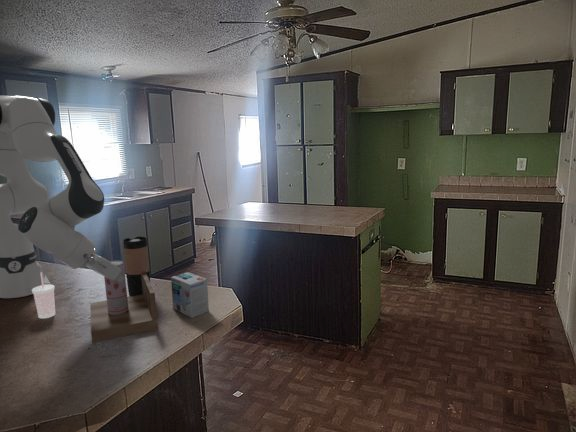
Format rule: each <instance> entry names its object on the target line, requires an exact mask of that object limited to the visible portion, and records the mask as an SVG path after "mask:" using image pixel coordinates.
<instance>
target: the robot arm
mask: <svg viewBox="0 0 576 432" xmlns="http://www.w3.org/2000/svg"><path fill="white" fill-rule="evenodd" d="M55 124H56V111H55V108H54V106H53V104H52V103H51V102H50V101H49V100H48V99H45V98H41V97H38V96H37V97H32V96H25V95H14V94H13V95H0V176H1V177H4V178H6V179H7V180H6V182H5V183H0V299H15V298H22V297H28V296H31V295H34V294H33V293H32V289H33V288H35V287H37V286H41V285H42V282H41V275H40V272H42V276H43V283H44V285H48V284H49V285H52V284H51V282H50V280H49V278H48V277H47V275H46V274H45V273H43V266H41V264H40V263H39V262H38V261H37V260H38V258H37V252H36V250H35V249H34V246H35V247H37V248H38V249H39V250H41V251H43V252H45V253H49V254H51V255H53V257H54V258H55V259H56V260H57V261H59V262H61V263H62V264H64V265H66V266H68V267H69V268H71V269H74V270H77V269H85V268H88V269H90V270H92V271H93V272H96V273H97V274H99V275H101V276H103V277H104V276H105V277H106V278H108V279H110V280H112V281H115V280H117V281H119V282H123V280H124V279H126V277H125V278H124V277H123V276H122V275H121V272H122V270H121V269H120V268H118V267H117V266H115V265H114V264H112V263H111V262H110V261H109V260H108V259H106V258H104V257H103V256H100V255H98V254H97V252H98V251H97V248H96V243H95V241H93V240H91V239H89V237H87V236H85V235H84V234H83V233H82V232H79V231H77V230H75V228H76V226H78V225H80V224H81V223H82V222H84V221H86V220H88V219H90V218H92V217H95V216H97V215H98V214H100V213H101V212H102V211H103V209H104V206H105V195H104V193H103V191H102V189H101V188H100V186H98V184H97V183H96V182H95V181H94V179H93V178H92V176H91V174H90V173H89V171H88V169H87V167H86V166H85V164H84V162H83V160H82V158H81V157H80V156H79V153H78V152H77V150H76V149H75V147H74V145H73V144H72V142H70V140H68V139H67V138H66V137H65V136H63V135H61V134H58V133H57V132H56V129H55ZM28 160H29V161H32V162H37V163H50V162H53V161H57V162H58V164H59V165H60V167H61V170H62V171H63V173H64V174H65V177H66V178H67V180H68V184H67V186H66V188H65V189H64V190H62V191H60V192H59V193H57V194H56V195H55V196H52V197H51V198H50V194H49V190H48V189H47V188H46V186H45V185H44V184H42V183H41V182H39V181H37V180H36V179H35V178H34V177H33V176H32V174H31V173H30V170H29V167H28ZM20 214H22V216H21V217H20V219H19V221H18V223H14V222H13V220H12V218H11V216H15V215H20Z"/></svg>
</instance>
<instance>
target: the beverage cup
mask: <svg viewBox="0 0 576 432" xmlns="http://www.w3.org/2000/svg"><path fill="white" fill-rule="evenodd" d="M42 272H43V271H42ZM42 272H40V275H41V282H42V285H41V286H37V287H35V288H33V289H32V293H33V294H32V295H33V298H34V303H35V307H36V312H37V317H38V318H39V319H48V318H51V317H53V316H55V315H56V304H55V287H56V286H55V285H54V284H51V285H49V284H48V285H44V283H43V276H42Z"/></svg>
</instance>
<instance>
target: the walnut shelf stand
mask: <svg viewBox="0 0 576 432" xmlns="http://www.w3.org/2000/svg"><path fill="white" fill-rule="evenodd" d="M141 277H142V289H143V294H142V295H136V296H130V297H129V296H127V299H128V310H127V312H125V313H123V314H120V315H111V314H109V313H108V307H107V299H106V300H102V301H96V302H90V303H89V305H90V306H89V308H90V334H91V342H92V343H96V342H101V341H107V340H112V339H117V338H121V337H125V336H131V335H135V334H140V333H146V332H149V331H157V330H158V329H159V328H158V317H157V306H156V305H157V302H156V294H155V290H154V287H153V286H152V283H151V280H150V281H149V279H148V277H147V274H146V272H145V271H141Z"/></svg>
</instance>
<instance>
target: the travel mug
mask: <svg viewBox="0 0 576 432" xmlns="http://www.w3.org/2000/svg"><path fill="white" fill-rule="evenodd" d="M122 242H123V251H124V252H123V254H124V268H125V278H126V282H127V283H126V285H127V289H128V290H127V293H128V297H130V296H136V295H142V294H143V289H142V277H141V271H145V272H146V274H147V277H148V279H149V281H150V282H151V276H150V275H151V271H150V262H149V261H150V260H149V250H148V240H147V237H146V236H136V237H134V238H130V237H128V238H127V237H126V238H125V239H123V240H122Z"/></svg>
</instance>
